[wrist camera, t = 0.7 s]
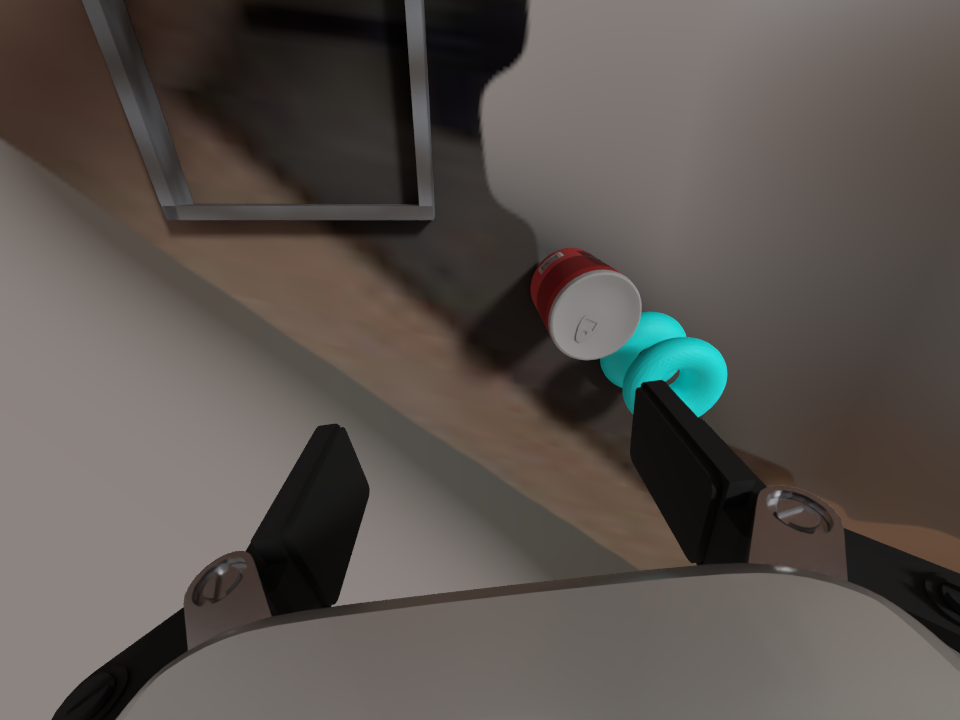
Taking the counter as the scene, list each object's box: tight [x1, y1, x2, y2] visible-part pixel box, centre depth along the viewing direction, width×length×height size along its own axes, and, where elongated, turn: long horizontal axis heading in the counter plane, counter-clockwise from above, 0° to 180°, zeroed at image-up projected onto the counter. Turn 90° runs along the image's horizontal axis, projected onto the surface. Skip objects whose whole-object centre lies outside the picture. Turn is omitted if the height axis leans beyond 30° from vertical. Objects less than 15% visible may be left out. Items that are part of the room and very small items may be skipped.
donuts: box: [600, 312, 727, 417], centre depth 39 cm, size 10×10×10 cm
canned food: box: [531, 248, 642, 360], centre depth 34 cm, size 8×8×11 cm
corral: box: [82, 0, 435, 220], centre depth 28 cm, size 23×24×2 cm
